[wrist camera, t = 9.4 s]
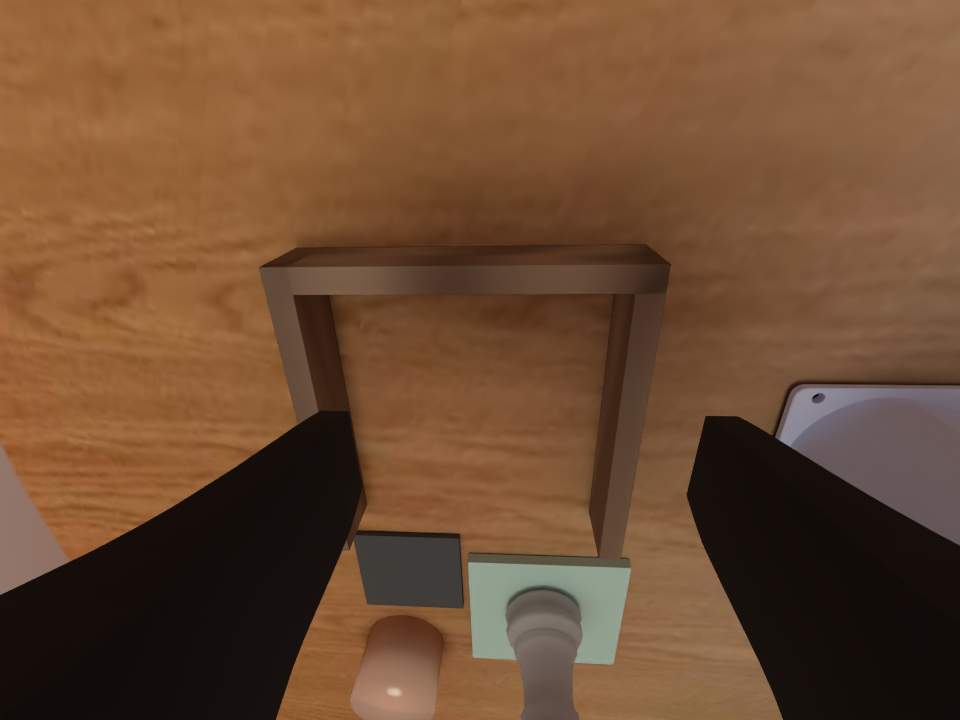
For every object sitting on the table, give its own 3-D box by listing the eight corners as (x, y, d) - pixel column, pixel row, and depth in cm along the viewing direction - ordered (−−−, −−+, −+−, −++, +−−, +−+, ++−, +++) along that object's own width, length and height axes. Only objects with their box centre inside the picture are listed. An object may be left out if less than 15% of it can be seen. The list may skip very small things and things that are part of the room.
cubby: (645, 244, 17) (670, 264, 15) (608, 511, 24) (620, 560, 21) (295, 248, 18) (258, 267, 16) (349, 504, 24) (329, 549, 22)
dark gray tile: (459, 534, 25) (458, 538, 25) (463, 603, 28) (463, 608, 27) (354, 530, 25) (352, 534, 25) (368, 599, 28) (367, 604, 28)
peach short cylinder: (441, 616, 29) (431, 685, 25) (446, 662, 31) (437, 731, 27) (364, 613, 29) (343, 680, 25) (374, 659, 31) (357, 727, 28)
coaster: (628, 559, 25) (631, 568, 24) (611, 654, 29) (613, 664, 29) (469, 553, 26) (468, 562, 25) (473, 648, 30) (473, 657, 29)
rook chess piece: (559, 641, 28) (576, 815, 21) (493, 620, 27) (487, 791, 20) (594, 598, 26) (626, 775, 19) (523, 575, 25) (528, 748, 18)
